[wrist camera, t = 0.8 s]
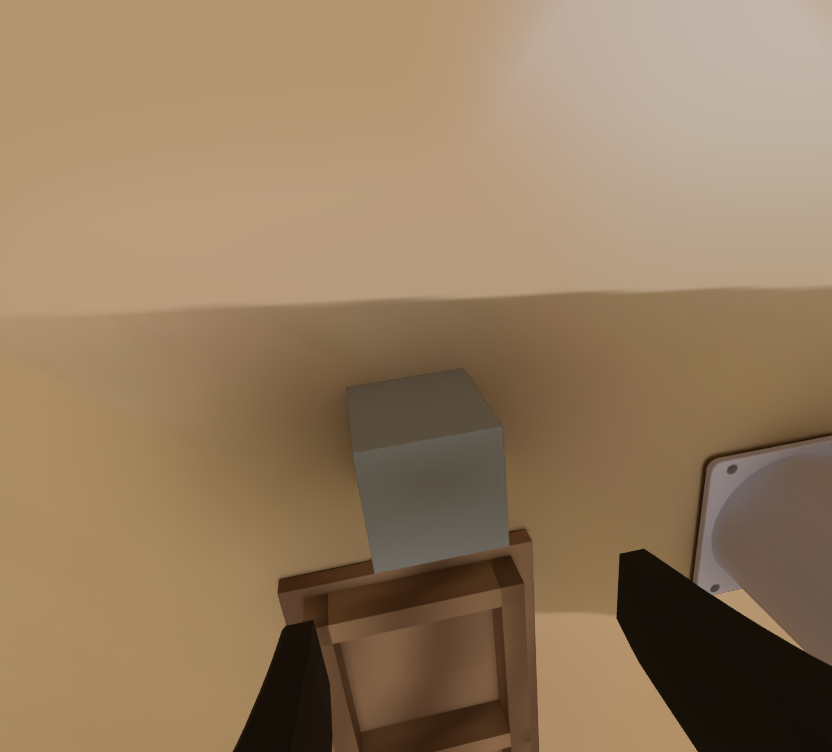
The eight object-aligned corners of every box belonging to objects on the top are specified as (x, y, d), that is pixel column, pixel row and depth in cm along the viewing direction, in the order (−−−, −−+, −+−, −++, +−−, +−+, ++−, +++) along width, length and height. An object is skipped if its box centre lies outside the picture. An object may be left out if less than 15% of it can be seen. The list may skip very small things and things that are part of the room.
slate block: (462, 367, 20) (503, 426, 15) (470, 466, 22) (509, 546, 17) (346, 386, 19) (352, 453, 15) (364, 486, 21) (374, 573, 17)
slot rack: (525, 529, 23) (548, 570, 21) (535, 797, 31) (553, 850, 28) (272, 581, 22) (265, 631, 20) (348, 846, 30) (350, 906, 27)
